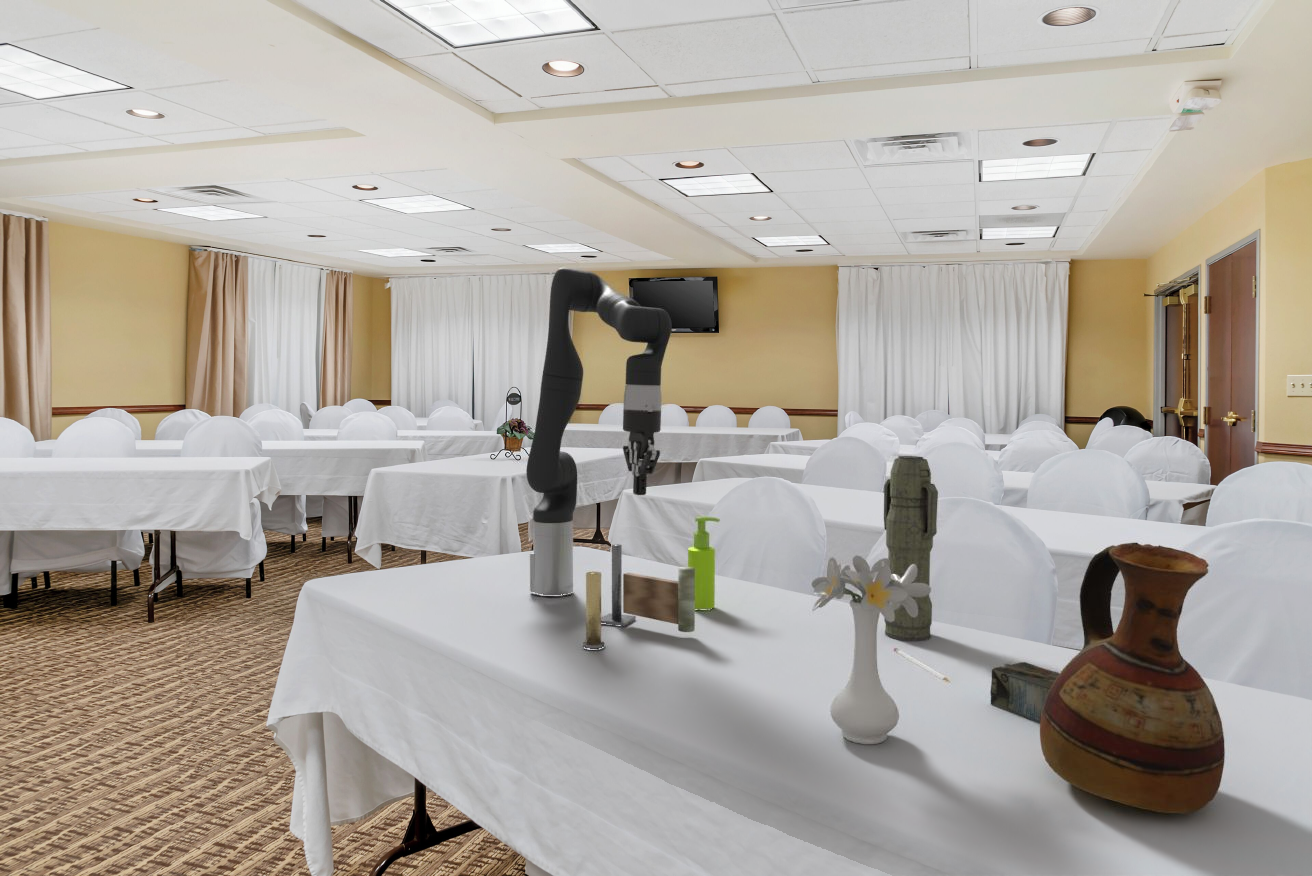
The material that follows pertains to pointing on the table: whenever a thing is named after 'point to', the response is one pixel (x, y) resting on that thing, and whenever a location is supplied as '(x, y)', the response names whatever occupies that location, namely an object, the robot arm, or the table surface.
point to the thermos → (910, 538)
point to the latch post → (593, 611)
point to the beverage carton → (1021, 688)
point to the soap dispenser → (703, 565)
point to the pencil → (920, 664)
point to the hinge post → (617, 591)
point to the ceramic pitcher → (1136, 691)
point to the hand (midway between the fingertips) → (639, 494)
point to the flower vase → (867, 642)
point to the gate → (662, 598)
